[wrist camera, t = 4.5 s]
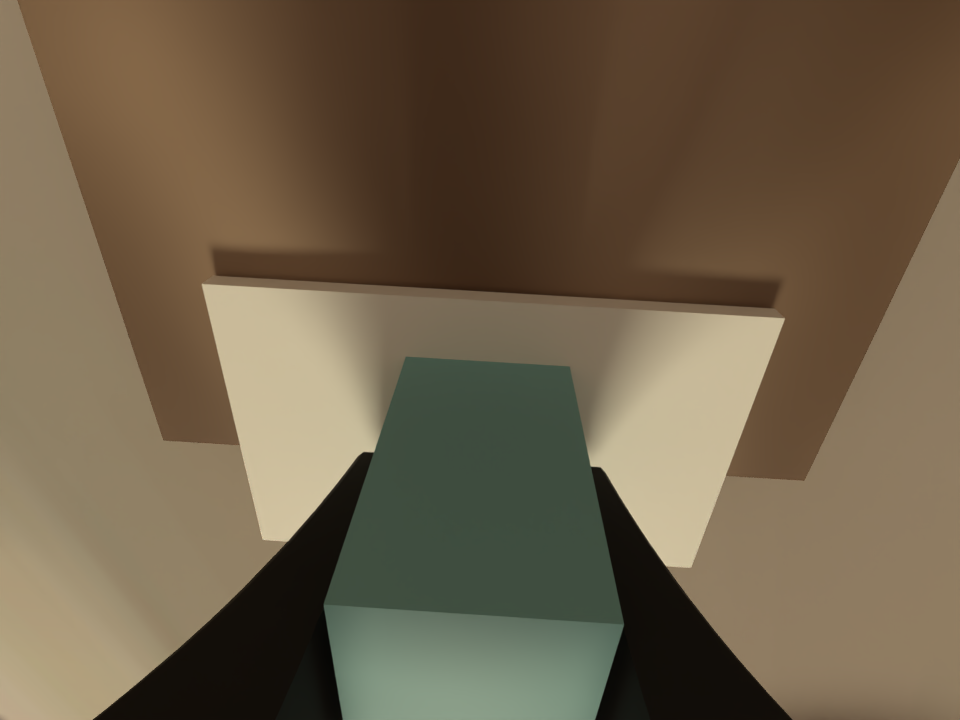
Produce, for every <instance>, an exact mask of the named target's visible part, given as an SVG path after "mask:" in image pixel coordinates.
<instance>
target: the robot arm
mask: <svg viewBox="0 0 960 720" xmlns="http://www.w3.org/2000/svg"><path fill="white" fill-rule="evenodd" d="M373 454H374V452H363V453H361V454H360V455H359V456H358V457H357V458H356V459H355V461H354V462H353V463H352V465H351V466H350V467H349V469H348V470H347V471H346V472H345V474H344V475H343V476H342V478H341V479H340V480H339V482H338V483H337V484H336V485H335V487H334V488H333V489H332V490H331V492H330V493H329V494H328V495H327V496H326V498H325V499H324V500H323V501H322V503H321V504H320V505H319V506H318V507H317V509H316V510H315V511H314V512H313V513H312V514H311V515H310V517H309V518H308V519H307V520H306V521H305V522H304V524H303V525H302V526H301V527H300V528H299V529H298V530H297V532H296V533H295V534H294V535H293V536H292V537H291V538H290V540H289V541H288V542H287V543H286V544H285V545H284V546H283V547H282V548H281V549H280V551H279V552H278V553H277V554H276V555H275V556H274V557H273V558H272V559H271V560H270V561H269V562H268V563H267V564H266V565H265V566H264V567H263V568H262V569H261V570H260V571H259V572H258V573H257V574H256V575H255V577H254V578H253V579H252V580H251V581H250V582H249V583H248V584H247V585H246V586H245V587H244V588H243V589H242V590H241V591H240V592H239V593H238V594H237V595H236V596H235V597H234V598H233V599H232V600H231V601H230V602H229V603H228V604H227V605H226V606H224V607H223V608H222V609H221V610H220V611H219V612H218V613H217V614H216V615H215V616H214V617H213V618H212V619H211V620H210V621H209V622H207V623H206V624H205V625H204V626H203V627H202V628H201V629H200V630H199V631H198V632H196V633H195V634H194V635H193V636H192V637H191V638H190V639H189V640H188V641H187V642H185V643H184V644H183V645H182V646H181V647H180V648H179V649H178V650H176V651H175V652H174V653H173V654H172V655H171V656H169V657H168V658H167V659H166V660H165V661H163V662H162V663H161V664H160V665H159V666H158V667H156V668H155V669H154V670H153V671H152V672H150V673H149V674H148V675H147V676H146V677H145V678H143V679H142V680H141V681H140V682H139V683H137V684H136V685H135V686H134V687H133V688H132V689H130V690H129V691H128V692H127V693H125V694H124V695H123V696H122V697H121V698H119V699H118V700H117V701H116V702H114V703H113V704H112V705H111V706H109V707H108V708H107V709H106V710H104V711H103V712H102V713H101V714H99V715H98V716H97V717H96V718H94V719H93V720H343V717H342V711H341V705H340V699H339V694H338V688H337V682H336V676H335V670H334V664H333V658H332V652H331V646H330V640H329V634H328V628H327V622H326V616H325V611H324V602H325V599H326V596H327V593H328V589H329V586H330V583H331V580H332V577H333V574H334V571H335V568H336V565H337V562H338V559H339V556H340V553H341V550H342V547H343V544H344V541H345V538H346V535H347V532H348V529H349V526H350V523H351V520H352V517H353V514H354V511H355V508H356V505H357V502H358V499H359V496H360V493H361V490H362V487H363V484H364V481H365V478H366V475H367V472H368V469H369V466H370V463H371V460H372V457H373ZM591 470H592V475H593V479H594V484H595V489H596V494H597V498H598V503H599V508H600V513H601V517H602V522H603V527H604V532H605V536H606V541H607V546H608V551H609V555H610V560H611V565H612V569H613V574H614V579H615V584H616V588H617V593H618V598H619V603H620V607H621V612H622V617H623V622H624V627H623V630H622V633H621V636H620V640H619V643H618V646H617V650H616V653H615V656H614V659H613V663H612V666H611V669H610V672H609V676H608V679H607V682H606V686H605V689H604V692H603V695H602V699H601V702H600V705H599V709H598V712H597V715H596V718H595V720H792V719H791V718H790V717H789V715H788V714H787V713H786V712H785V711H784V710H783V709H782V708H781V707H780V706H779V705H778V704H777V702H776V701H775V700H774V699H773V698H772V697H771V696H770V695H769V694H768V693H767V692H766V690H765V689H764V688H763V687H762V686H761V685H760V684H759V682H758V681H757V680H756V679H755V678H754V677H753V676H752V674H751V673H750V672H749V671H748V670H747V669H746V668H745V667H744V665H743V664H742V663H741V662H740V661H739V660H738V658H737V657H736V656H735V655H734V654H733V652H732V651H731V650H730V649H729V648H728V647H727V645H726V644H725V643H724V642H723V640H722V639H721V638H720V637H719V636H718V634H717V633H716V632H715V631H714V629H713V628H712V627H711V626H710V624H709V623H708V622H707V621H706V619H705V618H704V617H703V615H702V614H701V613H700V612H699V610H698V609H697V608H696V606H695V605H694V604H693V603H692V601H691V600H690V599H689V597H688V596H687V595H686V593H685V592H684V591H683V589H682V588H681V587H680V585H679V584H678V583H677V581H676V580H675V578H674V577H673V576H672V574H671V573H670V571H669V570H668V569H667V567H666V566H665V564H664V563H663V561H662V560H661V559H660V557H659V556H658V554H657V553H656V551H655V550H654V549H653V547H652V546H651V544H650V543H649V541H648V540H647V538H646V537H645V535H644V534H643V532H642V531H641V529H640V528H639V526H638V525H637V523H636V522H635V520H634V519H633V517H632V515H631V514H630V512H629V511H628V509H627V508H626V506H625V504H624V503H623V501H622V499H621V498H620V496H619V495H618V493H617V491H616V490H615V488H614V486H613V484H612V483H611V481H610V479H609V478H608V476H607V474H606V473H605V471H604V470H603V469H602V468H601V467H591Z"/></svg>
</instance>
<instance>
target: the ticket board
mask: <svg viewBox="0 0 960 720" xmlns="http://www.w3.org/2000/svg"><path fill="white" fill-rule="evenodd" d="M18 3H19V6H20V9H21V12H22V15H23V18H24V21H25V24H26V28H27V31H28V34H29V37H30V40H31V43H32V46H33V49H34V52H35V55H36V58H37V61H38V64H39V67H40V70H41V73H42V76H43V79H44V82H45V85H46V88H47V91H48V94H49V97H50V100H51V103H52V106H53V109H54V112H55V115H56V118H57V121H58V124H59V127H60V130H61V133H62V136H63V139H64V142H65V145H66V148H67V151H68V154H69V157H70V160H71V163H72V166H73V169H74V172H75V175H76V178H77V181H78V184H79V187H80V190H81V193H82V196H83V199H84V202H85V205H86V208H87V211H88V214H89V217H90V220H91V223H92V226H93V229H94V232H95V235H96V238H97V242H98V245H99V248H100V251H101V254H102V257H103V260H104V263H105V266H106V269H107V272H108V275H109V278H110V281H111V284H112V287H113V290H114V293H115V296H116V299H117V302H118V305H119V308H120V311H121V314H122V317H123V320H124V323H125V326H126V329H127V332H128V335H129V338H130V341H131V344H132V347H133V350H134V353H135V356H136V359H137V362H138V365H139V368H140V371H141V374H142V377H143V380H144V383H145V386H146V389H147V392H148V395H149V398H150V401H151V404H152V407H153V410H154V413H155V416H156V419H157V422H158V425H159V428H160V431H161V434H162V437H163V440H166V441H182V442H197V443H213V444H229V445H240V443H239V439H238V434H237V430H236V426H235V422H234V418H233V413H232V409H231V405H230V401H229V397H228V392H227V388H226V384H225V380H224V376H223V372H222V367H221V363H220V359H219V355H218V351H217V346H216V342H215V338H214V334H213V330H212V325H211V321H210V317H209V313H208V309H207V305H206V300H205V296H204V292H203V288H202V283H204V282H205V281H206V280H208V279H209V278H210V277H212V276H228V277H245V278H262V279H279V280H296V281H313V282H330V283H347V284H364V285H381V286H398V287H415V288H432V289H449V290H466V291H484V292H501V293H518V294H535V295H552V296H569V297H586V298H603V299H620V300H637V301H654V302H671V303H688V304H705V305H722V306H739V307H756V308H773V309H776V310H777V311H778V312H779V313H780V314H781V315H782V316H783V317H784V318H785V320H784V323H783V325H782V328H781V331H780V333H779V336H778V339H777V341H776V344H775V347H774V349H773V352H772V354H771V357H770V360H769V362H768V365H767V368H766V370H765V373H764V376H763V378H762V381H761V384H760V386H759V389H758V392H757V394H756V397H755V400H754V402H753V405H752V407H751V410H750V413H749V415H748V418H747V421H746V423H745V426H744V429H743V431H742V434H741V437H740V439H739V442H738V445H737V447H736V450H735V452H734V455H733V458H732V460H731V463H730V466H729V468H728V471H727V474H726V476H739V477H755V478H771V479H787V480H803V481H804V480H805V478H806V476H807V474H808V472H809V470H810V468H811V466H812V464H813V462H814V460H815V457H816V455H817V453H818V451H819V449H820V447H821V445H822V443H823V441H824V439H825V437H826V435H827V433H828V430H829V428H830V426H831V424H832V422H833V420H834V418H835V416H836V414H837V412H838V410H839V408H840V406H841V403H842V401H843V399H844V397H845V395H846V393H847V391H848V389H849V387H850V385H851V383H852V381H853V379H854V377H855V374H856V372H857V370H858V368H859V366H860V364H861V362H862V360H863V358H864V356H865V354H866V352H867V350H868V347H869V345H870V343H871V341H872V339H873V337H874V335H875V333H876V331H877V329H878V327H879V325H880V323H881V320H882V318H883V316H884V314H885V312H886V310H887V308H888V306H889V304H890V302H891V300H892V298H893V296H894V294H895V291H896V289H897V287H898V285H899V283H900V281H901V279H902V277H903V275H904V273H905V271H906V269H907V267H908V264H909V262H910V260H911V258H912V256H913V254H914V252H915V250H916V248H917V246H918V244H919V242H920V240H921V237H922V235H923V233H924V231H925V229H926V227H927V225H928V223H929V221H930V219H931V217H932V215H933V213H934V211H935V208H936V206H937V204H938V202H939V200H940V198H941V196H942V194H943V192H944V190H945V188H946V186H947V184H948V181H949V179H950V177H951V175H952V173H953V171H954V169H955V167H956V165H957V163H958V161H959V159H960V0H18Z"/></svg>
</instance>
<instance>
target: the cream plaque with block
mask: <svg viewBox="0 0 960 720" xmlns="http://www.w3.org/2000/svg"><path fill="white" fill-rule="evenodd" d="M202 288H203V292H204V296H205V300H206V305H207V309H208V313H209V317H210V321H211V325H212V330H213V334H214V338H215V342H216V346H217V351H218V355H219V359H220V363H221V367H222V372H223V376H224V380H225V384H226V388H227V392H228V397H229V401H230V405H231V409H232V413H233V418H234V422H235V426H236V430H237V434H238V439H239V443H240V447H241V451H242V455H243V459H244V464H245V468H246V472H247V476H248V480H249V485H250V489H251V493H252V497H253V501H254V506H255V510H256V514H257V518H258V522H259V527H260V531H261V535H262V539H263V540H272V541H287V542H288V541H289V540H290V538H291V537H292V536H293V535H294V534H295V533H296V532H297V530H298V529H299V528H300V527H301V526H302V525H303V524H304V522H305V521H306V520H307V519H308V518H309V517H310V515H311V514H312V513H313V512H314V511H315V510H316V509H317V507H318V506H319V505H320V504H321V503H322V501H323V500H324V499H325V498H326V496H327V495H328V494H329V493H330V492H331V490H332V489H333V488H334V487H335V485H336V484H337V483H338V482H339V480H340V479H341V478H342V476H343V475H344V474H345V472H346V471H347V470H348V469H349V467H350V466H351V465H352V463H353V462H354V461H355V459H356V458H357V457H358V456H359V455H360V454H361V453H363V452H374V454H373V457H372V460H371V463H370V466H369V469H368V472H367V475H366V478H365V481H364V484H363V487H362V490H361V493H360V496H359V499H358V502H357V505H356V508H355V511H354V514H353V517H352V520H351V523H350V526H349V529H348V532H347V535H346V538H345V541H344V544H343V547H342V550H341V553H340V556H339V559H338V562H337V565H336V568H335V571H334V574H333V577H332V580H331V583H330V586H329V589H328V593H327V596H326V599H325V602H324V611H325V616H326V622H327V628H328V634H329V640H330V646H331V652H332V658H333V664H334V670H335V676H336V682H337V688H338V694H339V699H340V705H341V711H342V717H343V720H595V718H596V715H597V712H598V709H599V705H600V702H601V699H602V695H603V692H604V689H605V686H606V682H607V679H608V676H609V672H610V669H611V666H612V663H613V659H614V656H615V653H616V650H617V646H618V643H619V640H620V636H621V633H622V630H623V627H624V622H623V617H622V612H621V607H620V603H619V598H618V593H617V588H616V584H615V579H614V574H613V569H612V565H611V560H610V555H609V551H608V546H607V541H606V536H605V532H604V527H603V522H602V517H601V513H600V508H599V503H598V498H597V494H596V489H595V484H594V479H593V475H592V470H591V467H601V468H602V469H603V470H604V471H605V473H606V474H607V476H608V478H609V479H610V481H611V483H612V484H613V486H614V488H615V490H616V491H617V493H618V495H619V496H620V498H621V499H622V501H623V503H624V504H625V506H626V508H627V509H628V511H629V512H630V514H631V515H632V517H633V519H634V520H635V522H636V523H637V525H638V526H639V528H640V529H641V531H642V532H643V534H644V535H645V537H646V538H647V540H648V541H649V543H650V544H651V546H652V547H653V549H654V550H655V551H656V553H657V554H658V556H659V557H660V559H661V560H662V561H663V563H664V564H665V566H672V567H687V568H691V566H692V564H693V561H694V558H695V556H696V553H697V550H698V548H699V545H700V543H701V540H702V537H703V535H704V532H705V529H706V527H707V524H708V521H709V519H710V516H711V513H712V511H713V508H714V505H715V503H716V500H717V497H718V495H719V492H720V490H721V487H722V484H723V482H724V479H725V476H726V474H727V471H728V468H729V466H730V463H731V460H732V458H733V455H734V452H735V450H736V447H737V445H738V442H739V439H740V437H741V434H742V431H743V429H744V426H745V423H746V421H747V418H748V415H749V413H750V410H751V407H752V405H753V402H754V400H755V397H756V394H757V392H758V389H759V386H760V384H761V381H762V378H763V376H764V373H765V370H766V368H767V365H768V362H769V360H770V357H771V354H772V352H773V349H774V347H775V344H776V341H777V339H778V336H779V333H780V331H781V328H782V325H783V323H784V320H785V318H784V317H783V316H782V315H781V314H780V313H779V312H778V311H777V310H776V309H773V308H756V307H739V306H722V305H705V304H688V303H671V302H654V301H637V300H620V299H603V298H586V297H569V296H552V295H535V294H518V293H501V292H484V291H466V290H449V289H432V288H415V287H398V286H381V285H364V284H347V283H330V282H313V281H296V280H279V279H262V278H245V277H228V276H212V277H210V278H209V279H208V280H206V281H205V282H204V283H202Z"/></svg>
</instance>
